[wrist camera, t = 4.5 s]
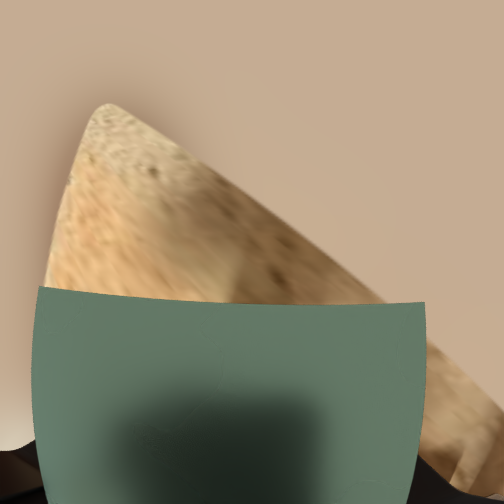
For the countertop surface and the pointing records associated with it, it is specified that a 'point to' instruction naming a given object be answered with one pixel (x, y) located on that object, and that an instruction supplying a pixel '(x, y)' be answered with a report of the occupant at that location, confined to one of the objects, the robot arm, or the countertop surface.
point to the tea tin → (225, 400)
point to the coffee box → (496, 497)
